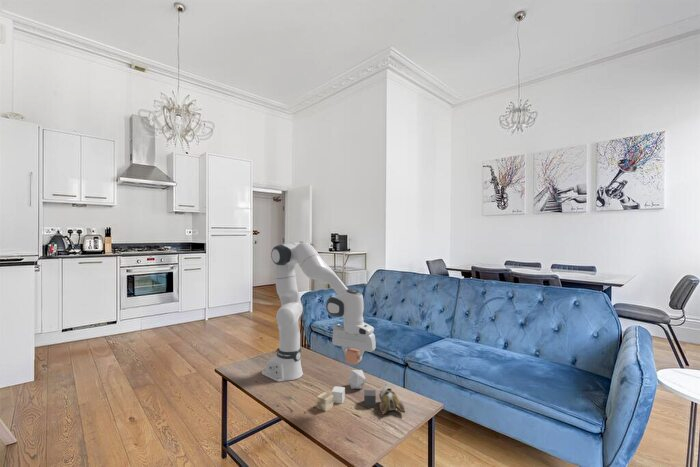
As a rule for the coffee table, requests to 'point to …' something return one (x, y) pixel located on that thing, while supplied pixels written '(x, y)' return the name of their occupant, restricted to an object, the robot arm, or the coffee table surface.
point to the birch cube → (325, 401)
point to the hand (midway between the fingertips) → (353, 357)
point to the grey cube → (338, 394)
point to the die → (356, 379)
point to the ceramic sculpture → (389, 400)
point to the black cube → (369, 398)
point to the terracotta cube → (352, 356)
